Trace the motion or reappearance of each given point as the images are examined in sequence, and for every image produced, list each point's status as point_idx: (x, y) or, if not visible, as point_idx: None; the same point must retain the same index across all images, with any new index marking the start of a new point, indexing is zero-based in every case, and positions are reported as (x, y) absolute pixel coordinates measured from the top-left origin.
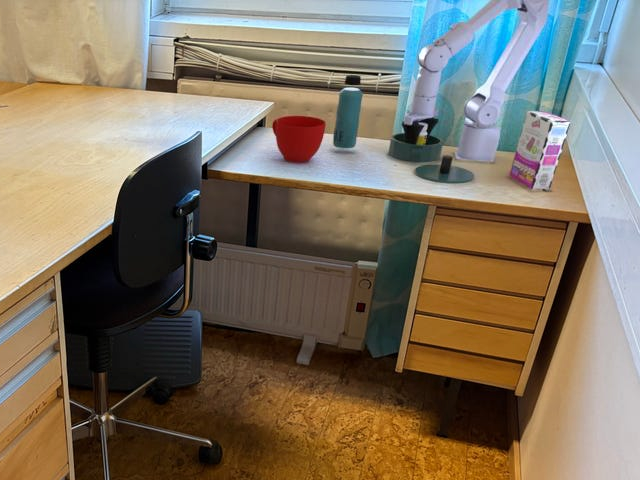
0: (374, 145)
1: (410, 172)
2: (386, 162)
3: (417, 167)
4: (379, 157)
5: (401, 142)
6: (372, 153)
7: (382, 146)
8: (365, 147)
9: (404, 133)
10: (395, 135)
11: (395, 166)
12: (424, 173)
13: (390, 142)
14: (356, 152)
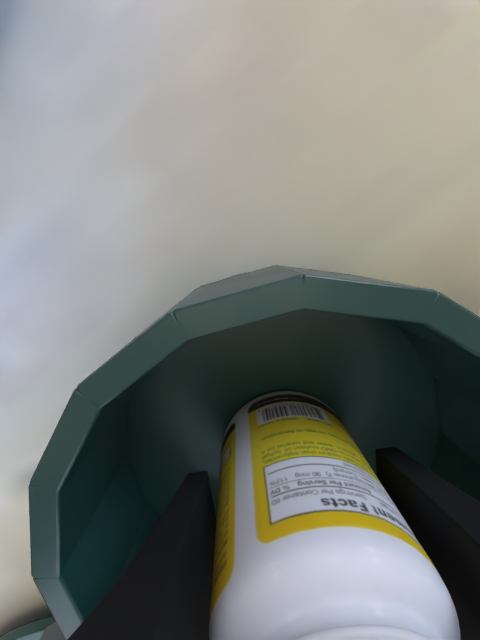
0: (330, 13)
1: (17, 593)
2: (32, 408)
3: (41, 633)
4: (77, 302)
5: (39, 559)
6: (111, 194)
7: (358, 90)
8: (203, 9)
9: (430, 327)
10: (238, 326)
11: (22, 489)
12: None
13: (131, 341)
14: (8, 83)
